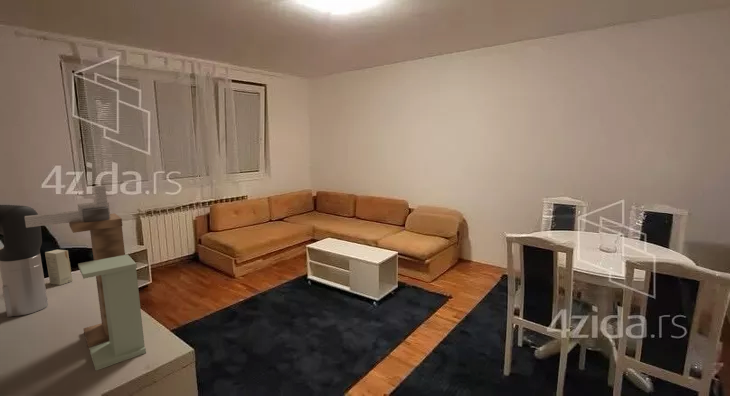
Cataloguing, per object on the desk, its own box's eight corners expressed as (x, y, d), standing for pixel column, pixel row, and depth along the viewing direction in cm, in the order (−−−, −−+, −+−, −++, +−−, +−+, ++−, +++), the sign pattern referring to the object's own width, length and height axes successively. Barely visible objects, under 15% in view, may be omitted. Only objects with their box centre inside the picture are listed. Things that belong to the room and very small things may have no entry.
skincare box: (73, 281, 133) (69, 250, 131) (60, 285, 129) (55, 253, 127) (62, 279, 135) (57, 248, 133) (48, 283, 131) (44, 252, 129)
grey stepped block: (26, 228, 81) (20, 192, 79) (26, 225, 84) (20, 190, 83) (110, 218, 92) (106, 186, 90) (107, 215, 95) (104, 185, 93)
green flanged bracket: (95, 370, 80) (82, 274, 76) (90, 352, 87) (78, 263, 83) (146, 352, 86) (136, 263, 83) (137, 337, 94) (127, 254, 90)
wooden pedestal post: (88, 347, 89) (70, 212, 84) (83, 332, 96) (66, 207, 91) (134, 332, 96) (120, 207, 90) (127, 319, 103) (113, 202, 98)
